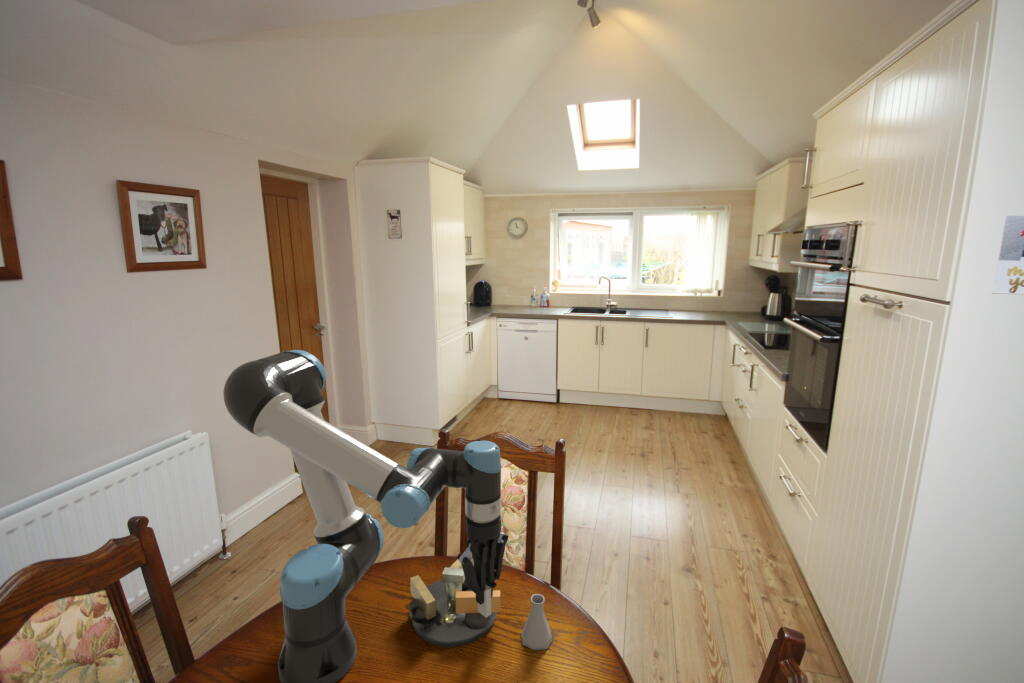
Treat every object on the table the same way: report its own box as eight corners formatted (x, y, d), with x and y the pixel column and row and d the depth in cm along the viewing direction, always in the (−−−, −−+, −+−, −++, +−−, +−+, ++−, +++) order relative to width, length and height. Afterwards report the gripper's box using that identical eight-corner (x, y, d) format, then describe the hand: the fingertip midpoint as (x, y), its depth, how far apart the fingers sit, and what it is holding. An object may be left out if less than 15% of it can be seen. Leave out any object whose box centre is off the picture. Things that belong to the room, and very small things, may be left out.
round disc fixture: (397, 641, 105) (395, 597, 102) (427, 574, 127) (426, 536, 125) (488, 651, 102) (488, 606, 100) (503, 581, 124) (503, 543, 122)
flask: (550, 654, 102) (552, 613, 100) (517, 648, 103) (518, 608, 101) (554, 628, 109) (555, 590, 107) (523, 623, 110) (524, 585, 108)
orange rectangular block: (455, 629, 105) (455, 604, 104) (457, 609, 111) (456, 585, 110) (500, 628, 106) (500, 602, 104) (499, 608, 111) (499, 584, 110)
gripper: (471, 534, 93) (473, 639, 97) (517, 509, 102) (517, 606, 106) (447, 519, 98) (450, 619, 102) (493, 497, 107) (494, 589, 111)
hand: (484, 612), depth 104 cm, fingers closed
